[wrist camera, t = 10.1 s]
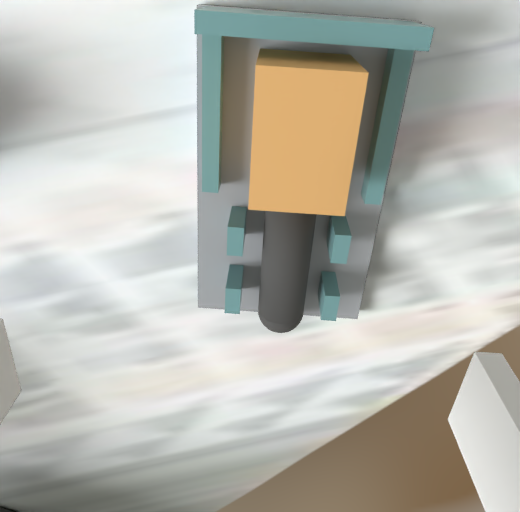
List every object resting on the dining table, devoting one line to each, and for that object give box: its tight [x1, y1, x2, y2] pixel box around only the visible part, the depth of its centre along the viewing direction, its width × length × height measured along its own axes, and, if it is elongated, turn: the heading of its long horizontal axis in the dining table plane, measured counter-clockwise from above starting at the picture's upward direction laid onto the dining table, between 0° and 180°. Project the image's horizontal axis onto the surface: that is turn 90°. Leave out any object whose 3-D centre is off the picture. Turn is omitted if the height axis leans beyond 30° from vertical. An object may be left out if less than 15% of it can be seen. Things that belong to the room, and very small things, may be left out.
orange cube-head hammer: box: [248, 49, 369, 333], centre depth 28 cm, size 18×5×6 cm, turn 177°
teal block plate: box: [195, 5, 434, 321], centre depth 28 cm, size 20×12×5 cm, turn 176°
